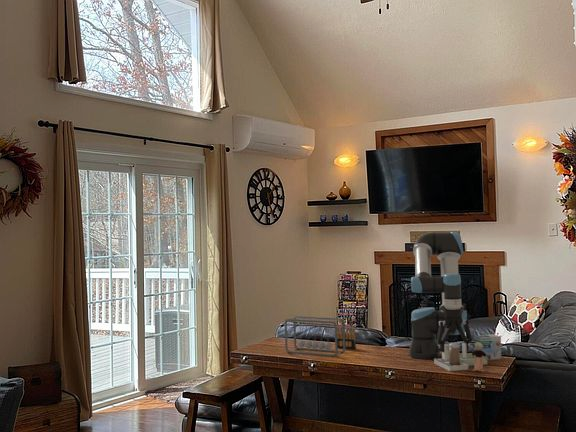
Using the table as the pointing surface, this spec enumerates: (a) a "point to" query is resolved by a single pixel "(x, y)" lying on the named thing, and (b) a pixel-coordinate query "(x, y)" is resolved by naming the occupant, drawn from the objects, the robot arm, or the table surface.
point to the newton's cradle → (315, 344)
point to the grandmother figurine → (478, 357)
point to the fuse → (447, 354)
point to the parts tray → (471, 360)
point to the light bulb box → (490, 345)
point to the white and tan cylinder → (454, 354)
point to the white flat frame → (448, 367)
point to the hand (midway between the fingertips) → (454, 358)
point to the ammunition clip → (346, 338)
